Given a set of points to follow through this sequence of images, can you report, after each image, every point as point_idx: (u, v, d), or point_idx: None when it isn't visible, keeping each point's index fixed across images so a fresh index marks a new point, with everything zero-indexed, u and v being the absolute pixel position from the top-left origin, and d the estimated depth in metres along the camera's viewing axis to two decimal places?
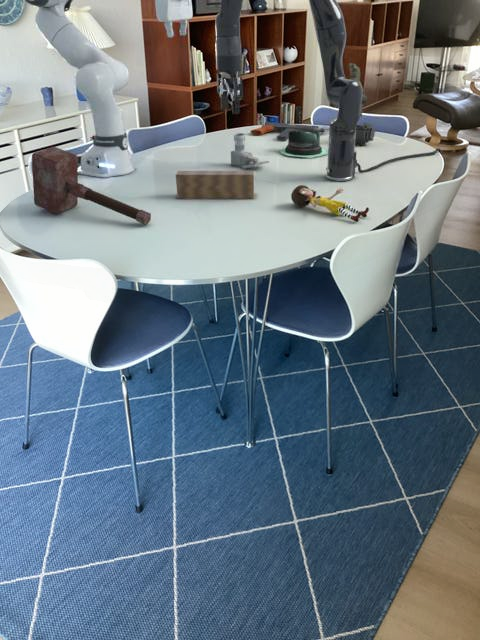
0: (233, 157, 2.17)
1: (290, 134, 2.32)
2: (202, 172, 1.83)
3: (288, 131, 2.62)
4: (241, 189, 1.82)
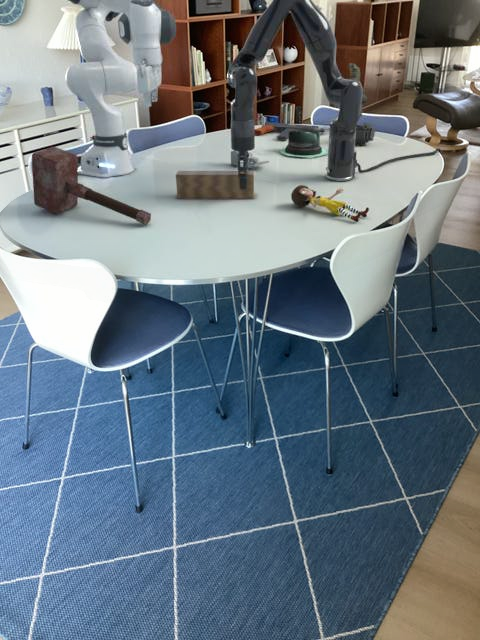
0: (233, 157, 2.17)
1: (290, 134, 2.32)
2: (202, 172, 1.83)
3: (288, 131, 2.62)
4: (241, 189, 1.82)
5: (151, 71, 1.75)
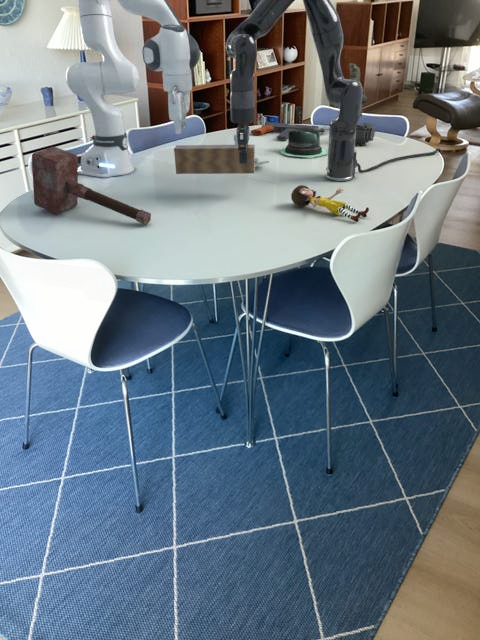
0: None
1: (290, 134, 2.32)
2: (201, 146, 1.79)
3: (288, 131, 2.62)
4: None
5: (182, 98, 1.69)
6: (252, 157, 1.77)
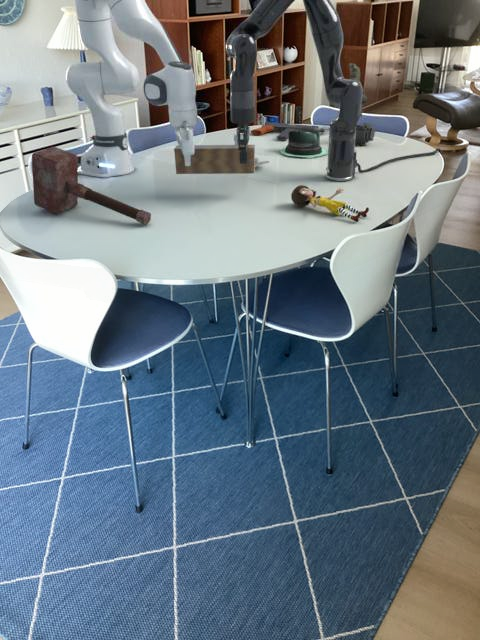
0: None
1: (290, 134, 2.32)
2: (202, 146, 1.79)
3: (288, 131, 2.62)
4: None
5: None
6: (252, 157, 1.77)
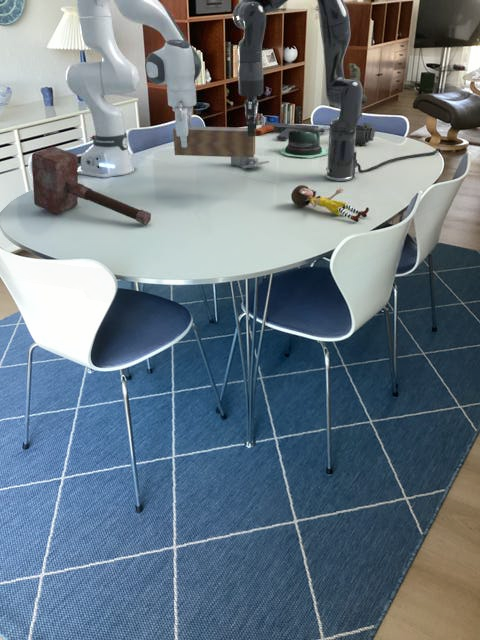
0: (233, 157, 2.17)
1: (290, 134, 2.32)
2: (201, 128, 1.76)
3: (288, 131, 2.62)
4: (240, 147, 1.74)
5: None
6: (251, 141, 1.73)
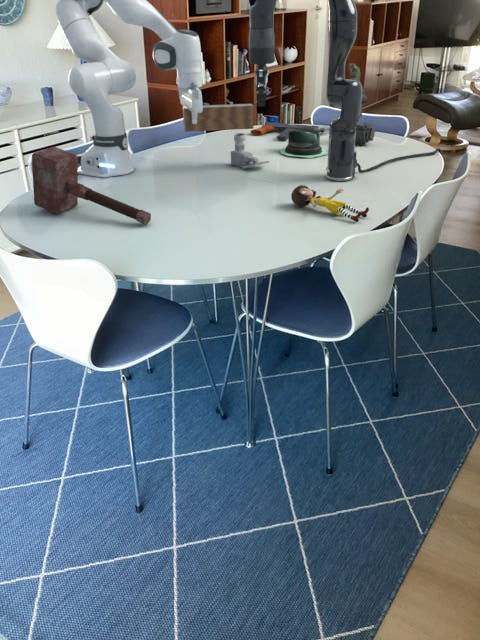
0: (233, 157, 2.17)
1: (290, 134, 2.32)
2: (206, 106, 2.02)
3: (288, 131, 2.62)
4: (243, 120, 2.04)
5: None
6: (252, 114, 2.04)
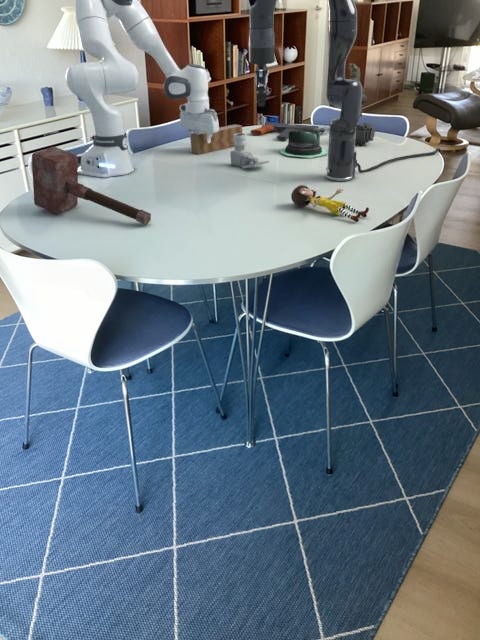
0: (233, 157, 2.17)
1: (290, 134, 2.32)
2: None
3: (288, 131, 2.62)
4: None
5: None
6: (241, 132, 2.48)
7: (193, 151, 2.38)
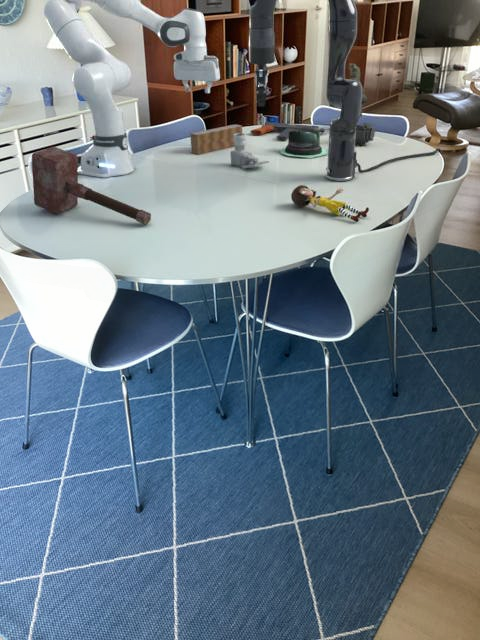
0: (233, 157, 2.17)
1: (290, 134, 2.32)
2: (209, 130, 2.39)
3: (288, 131, 2.62)
4: None
5: None
6: (241, 132, 2.48)
7: (193, 151, 2.38)
